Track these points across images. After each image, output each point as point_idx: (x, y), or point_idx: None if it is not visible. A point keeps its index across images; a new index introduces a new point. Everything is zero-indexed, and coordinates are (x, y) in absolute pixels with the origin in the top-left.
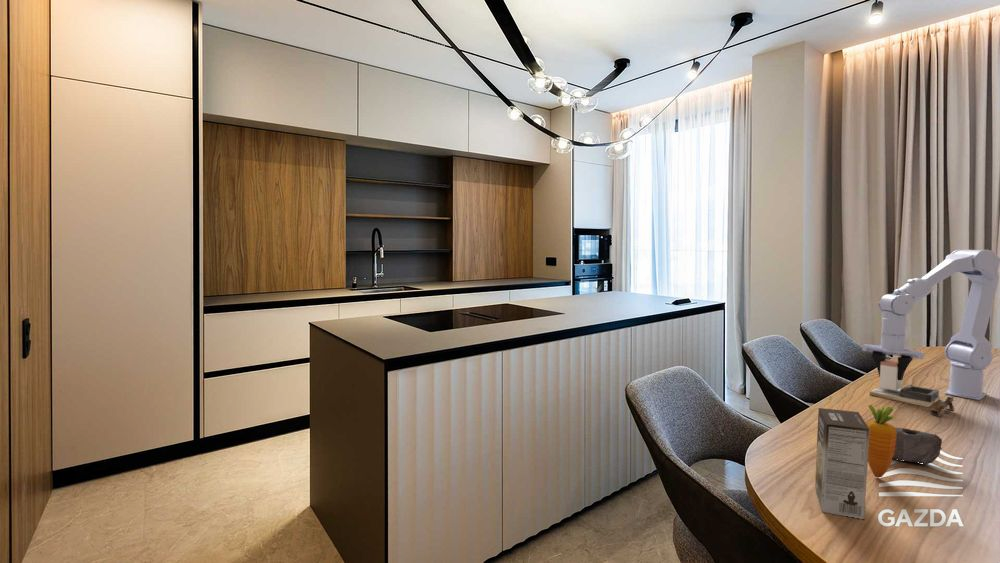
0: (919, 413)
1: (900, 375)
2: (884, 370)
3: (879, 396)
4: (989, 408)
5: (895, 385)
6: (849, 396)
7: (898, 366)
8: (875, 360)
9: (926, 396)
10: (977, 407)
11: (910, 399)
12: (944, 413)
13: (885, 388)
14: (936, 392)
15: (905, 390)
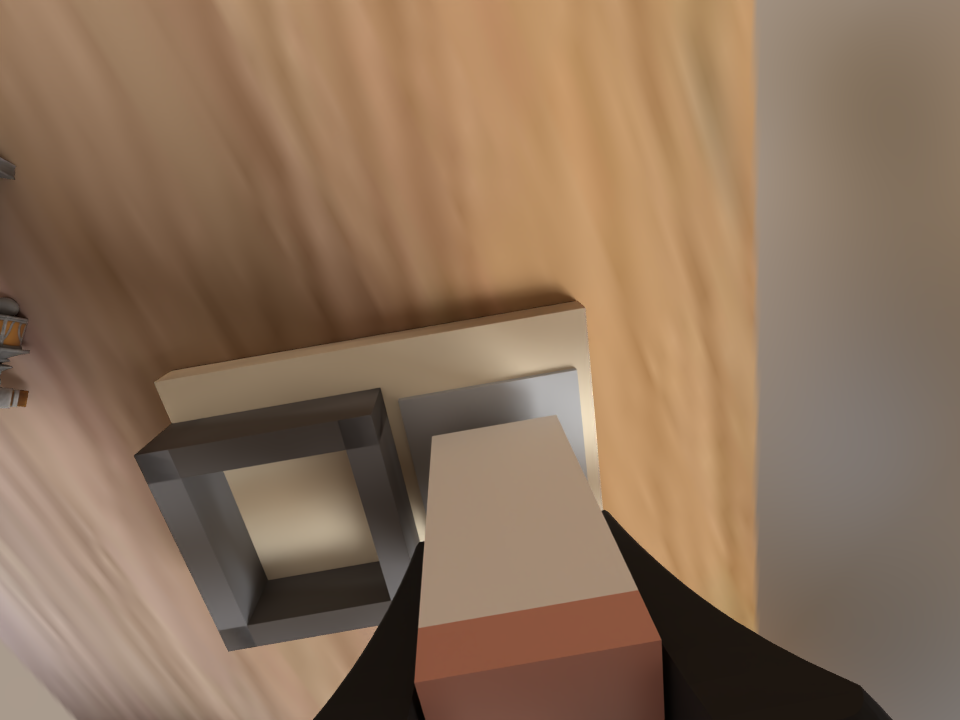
0: (63, 95)
1: (405, 576)
2: (562, 541)
3: (506, 315)
4: (38, 668)
5: (433, 461)
6: (665, 76)
7: (414, 668)
8: (749, 643)
9: (177, 442)
10: (73, 634)
11: (290, 373)
12: (8, 298)
13: (508, 423)
14: (204, 595)
15: (337, 434)
